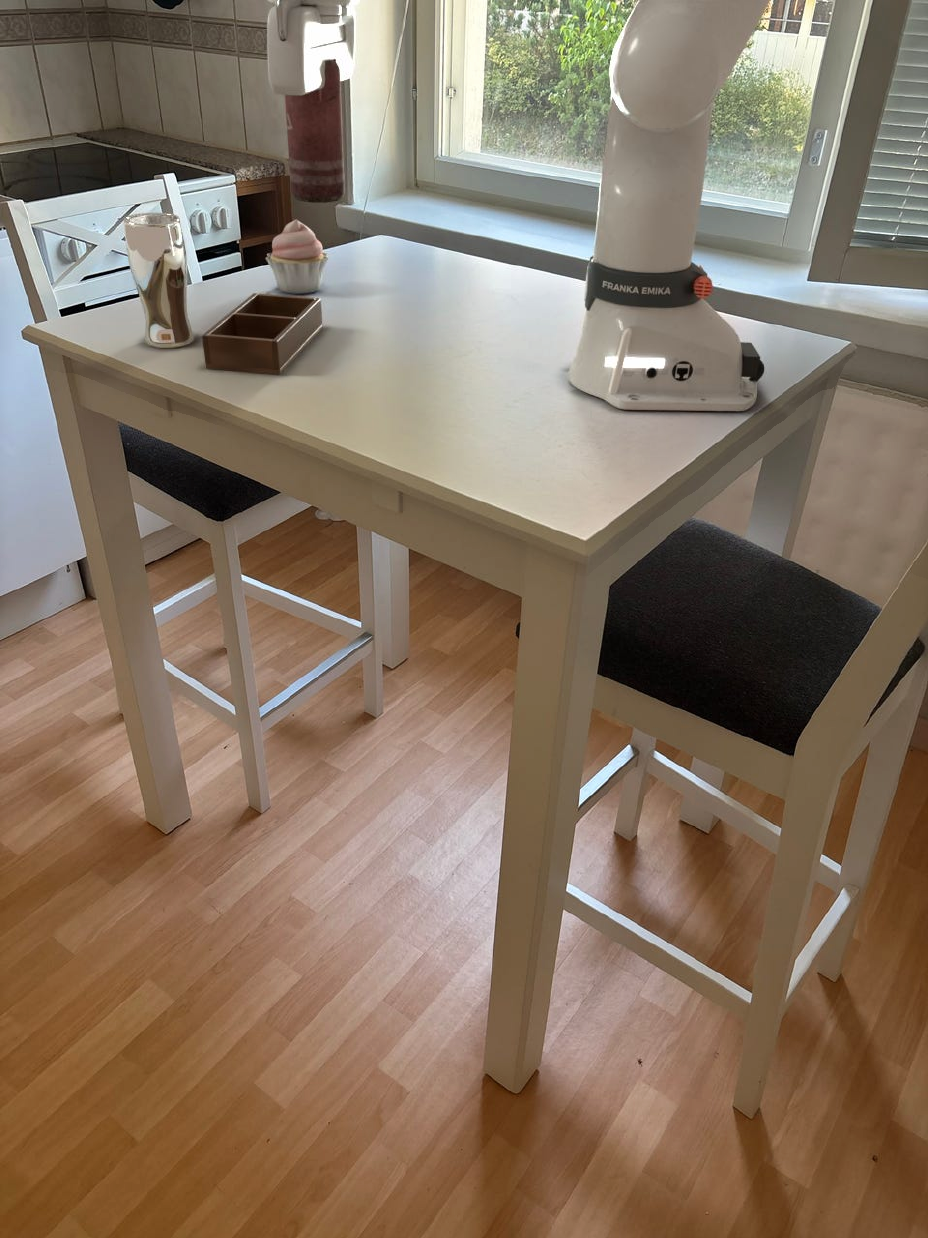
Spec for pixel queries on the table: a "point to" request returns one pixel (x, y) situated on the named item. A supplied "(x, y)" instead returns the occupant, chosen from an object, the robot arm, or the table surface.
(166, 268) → the beer glass
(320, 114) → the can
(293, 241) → the cupcake
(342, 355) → the table surface
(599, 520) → the table surface
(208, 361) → the tray
